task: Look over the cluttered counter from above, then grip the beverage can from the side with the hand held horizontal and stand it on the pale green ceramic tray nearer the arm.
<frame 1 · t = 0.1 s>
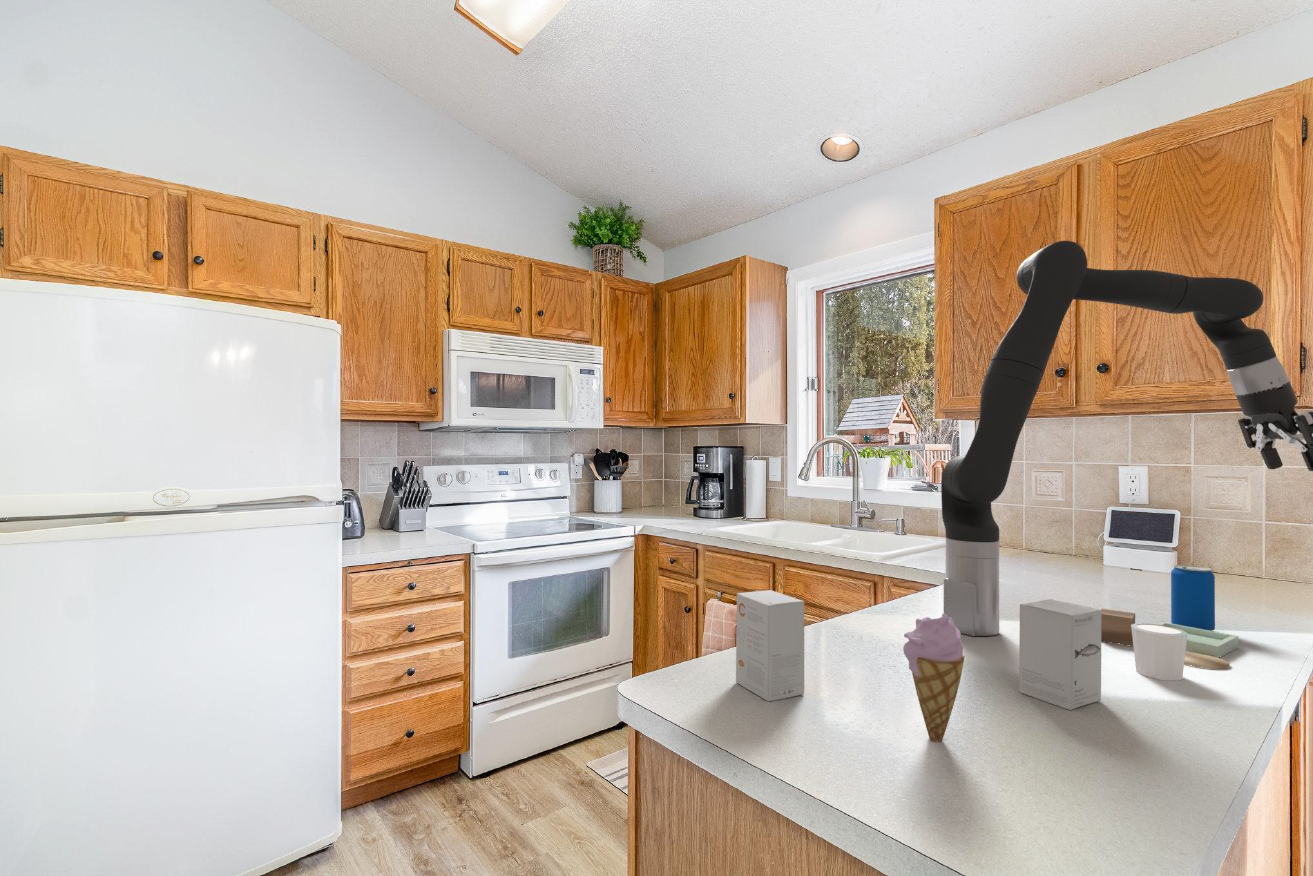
hand: (1296, 469, 116), 31 cm above the countertop, tool tilted 20°, fingers open, 8 cm apart
ice cream cone: (932, 741, 75), on the countertop
beverage can: (1192, 630, 123), on the countertop
cork coaster: (1196, 663, 104), on the countertop
supplement box: (1059, 698, 88), on the countertop
small box: (769, 690, 90), on the countertop
tray: (1188, 644, 113), on the countertop
walnut block: (1116, 641, 115), on the countertop
white cup: (1158, 675, 98), on the countertop
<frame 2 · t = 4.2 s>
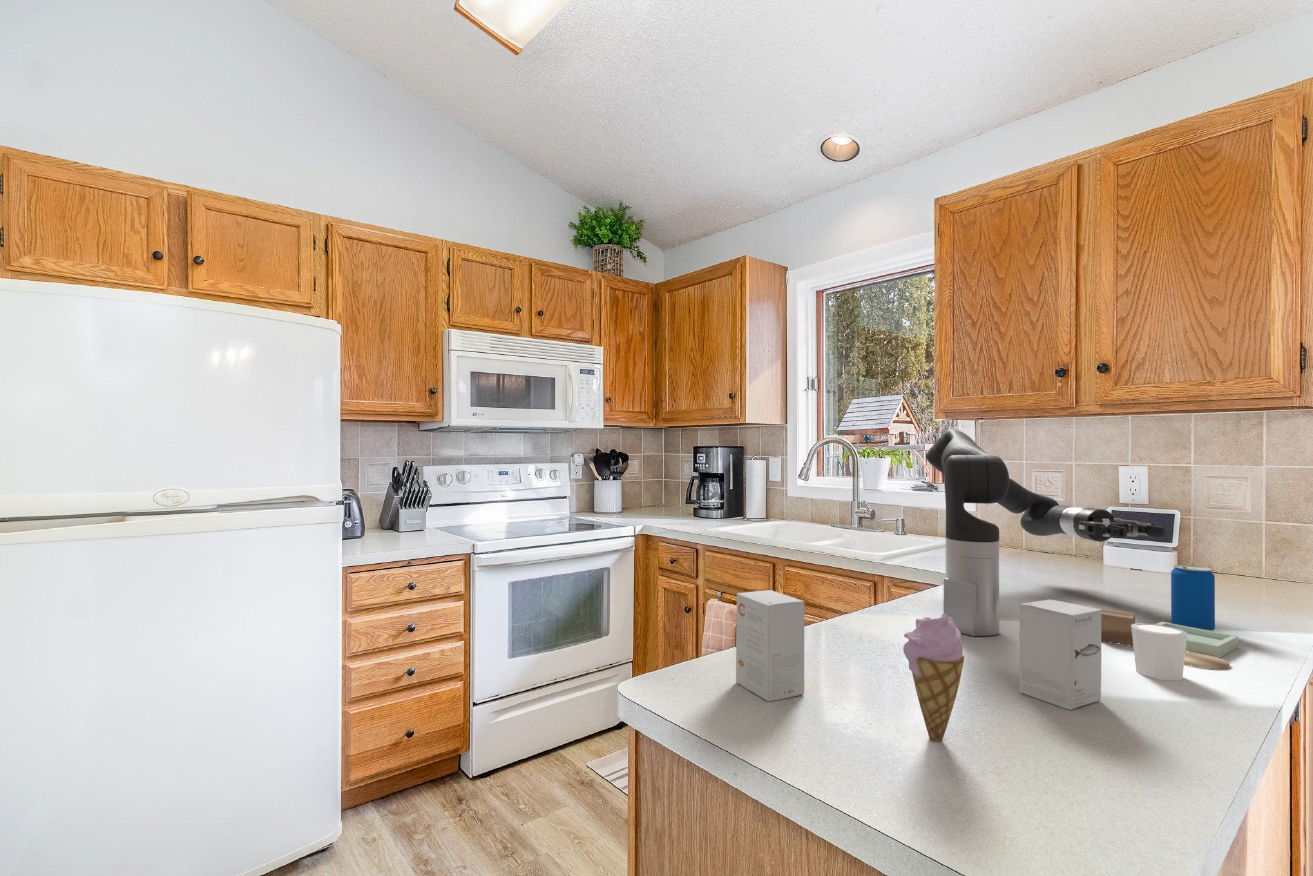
hand: (1144, 532, 134), 17 cm above the countertop, tool horizontal, fingers open, 8 cm apart
nothing on the countertop moved.
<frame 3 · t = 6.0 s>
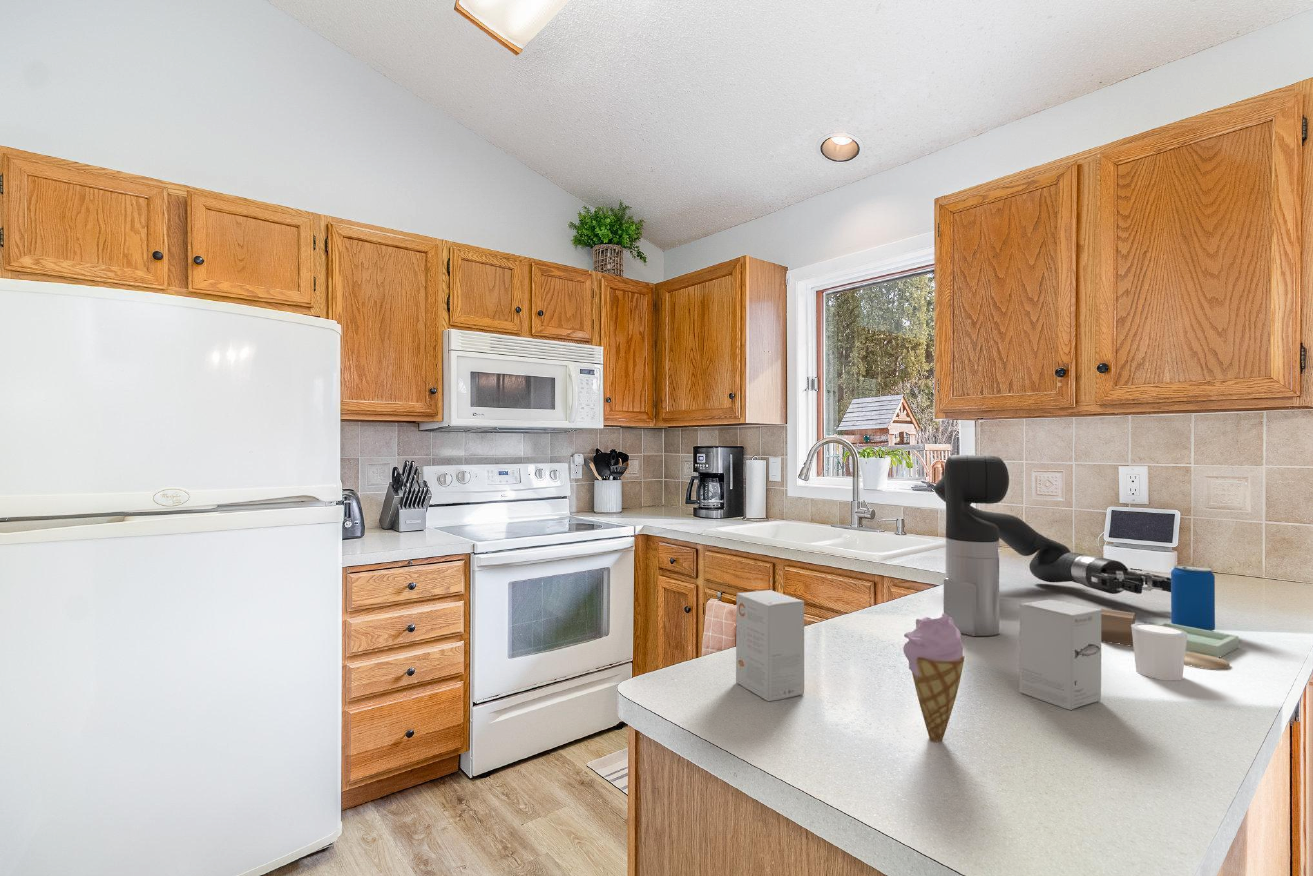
hand: (1159, 588, 131), 6 cm above the countertop, tool horizontal, fingers open, 8 cm apart
nothing on the countertop moved.
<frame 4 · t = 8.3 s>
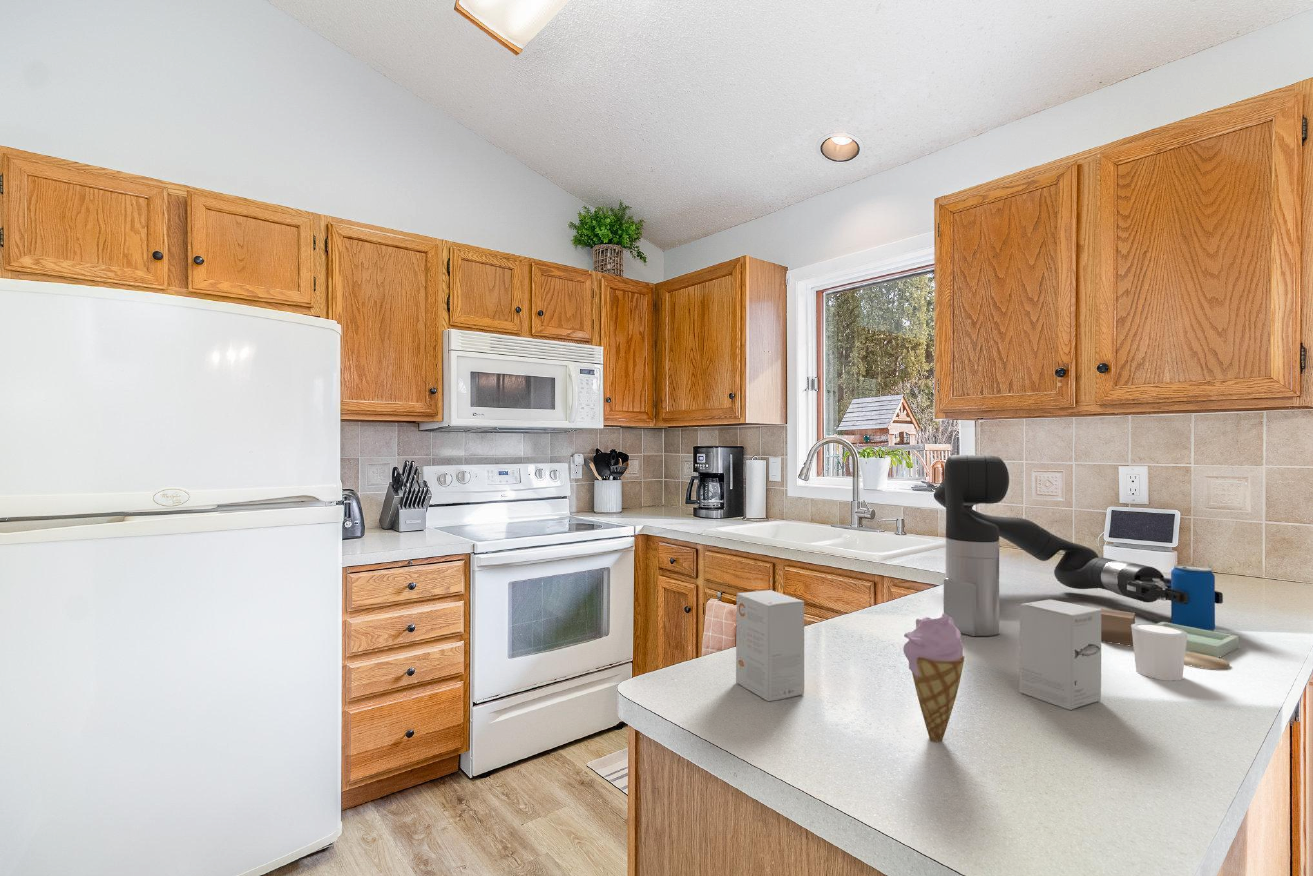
hand: (1203, 598, 121), 7 cm above the countertop, tool horizontal, fingers closed on beverage can, 6 cm apart
beverage can: (1192, 630, 123), on the countertop, touching gripper
everything else where it was.
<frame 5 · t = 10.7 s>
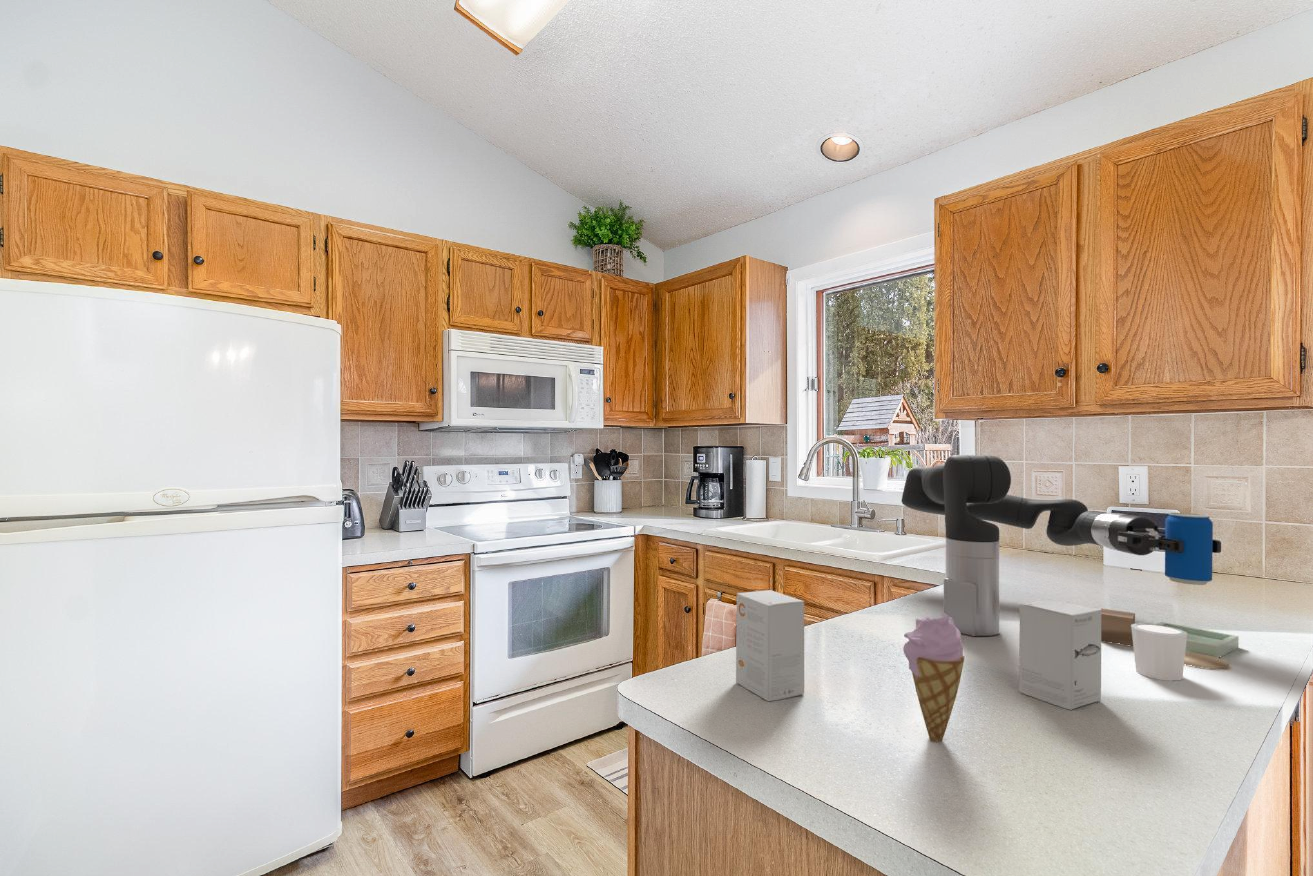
hand: (1199, 547, 111), 18 cm above the countertop, tool horizontal, fingers closed on beverage can, 6 cm apart
beverage can: (1187, 582, 113), point 11 cm above the countertop, touching gripper
everything else where it was.
when the fingers open (8 cm above the countertop, at t = 13.1 s): beverage can stays where it is, resting on tray.
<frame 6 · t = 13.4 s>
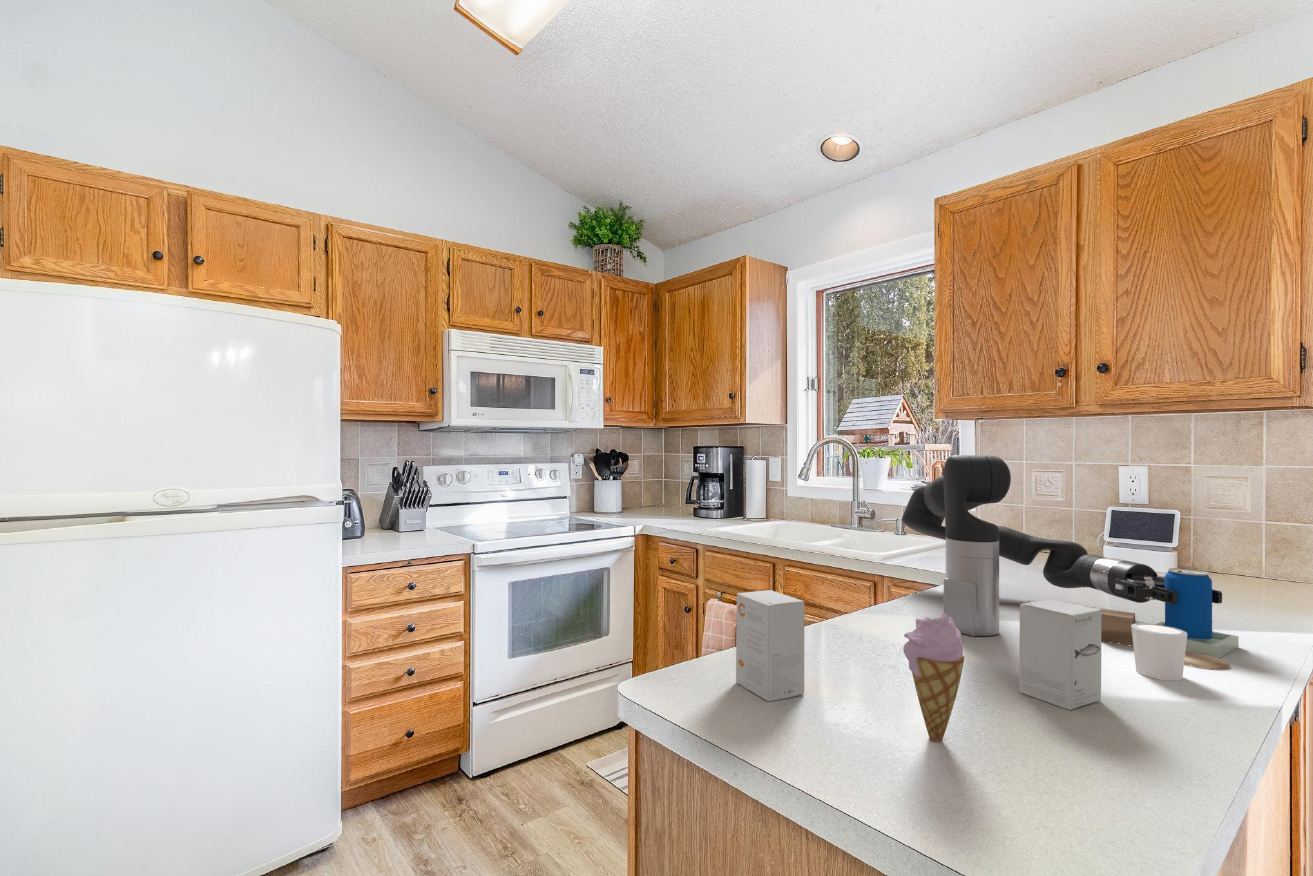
hand: (1197, 598, 111), 9 cm above the countertop, tool horizontal, fingers open, 8 cm apart
beverage can: (1188, 639, 113), point 1 cm above the countertop, touching tray
everything else where it was.
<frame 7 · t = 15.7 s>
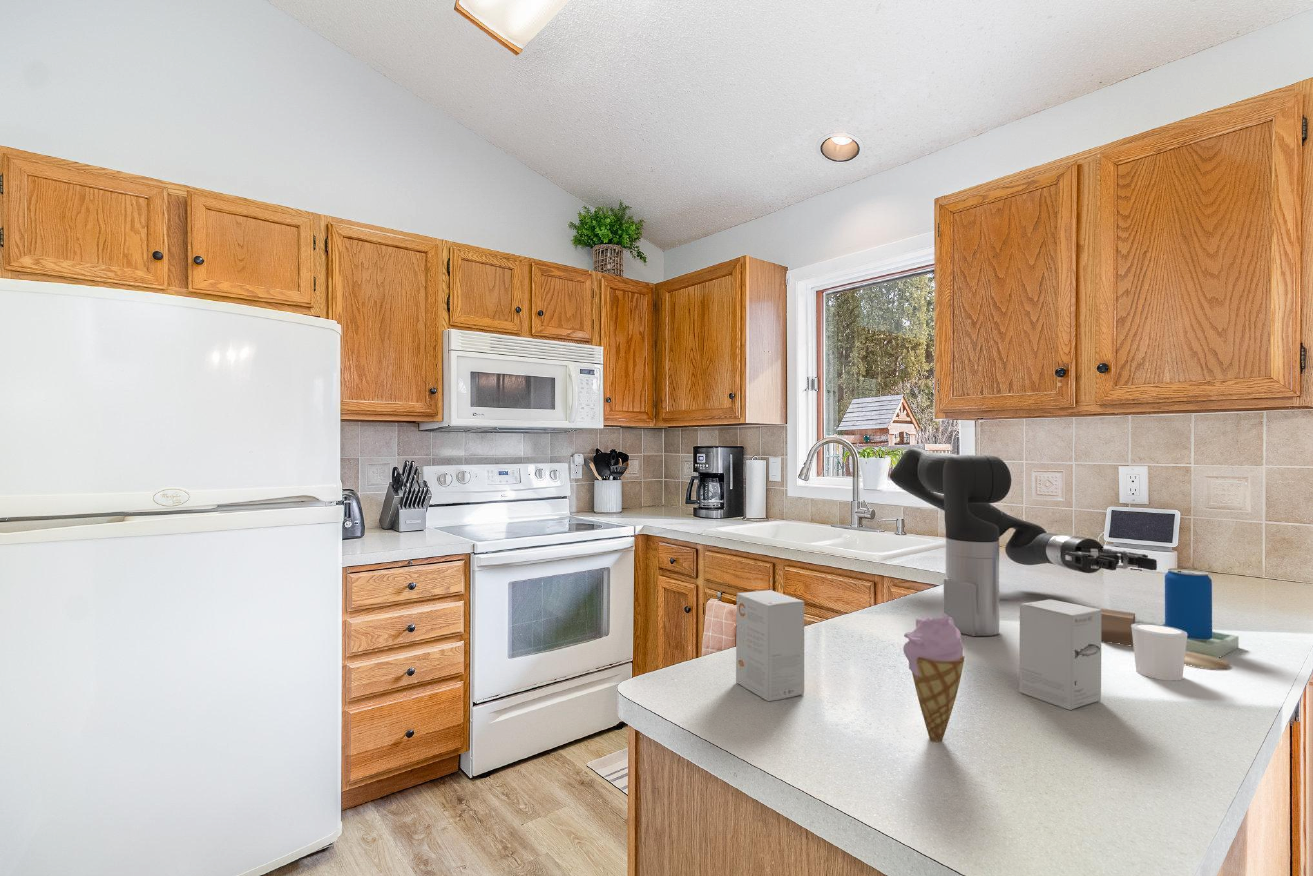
hand: (1134, 565, 125), 12 cm above the countertop, tool horizontal, fingers open, 8 cm apart
nothing on the countertop moved.
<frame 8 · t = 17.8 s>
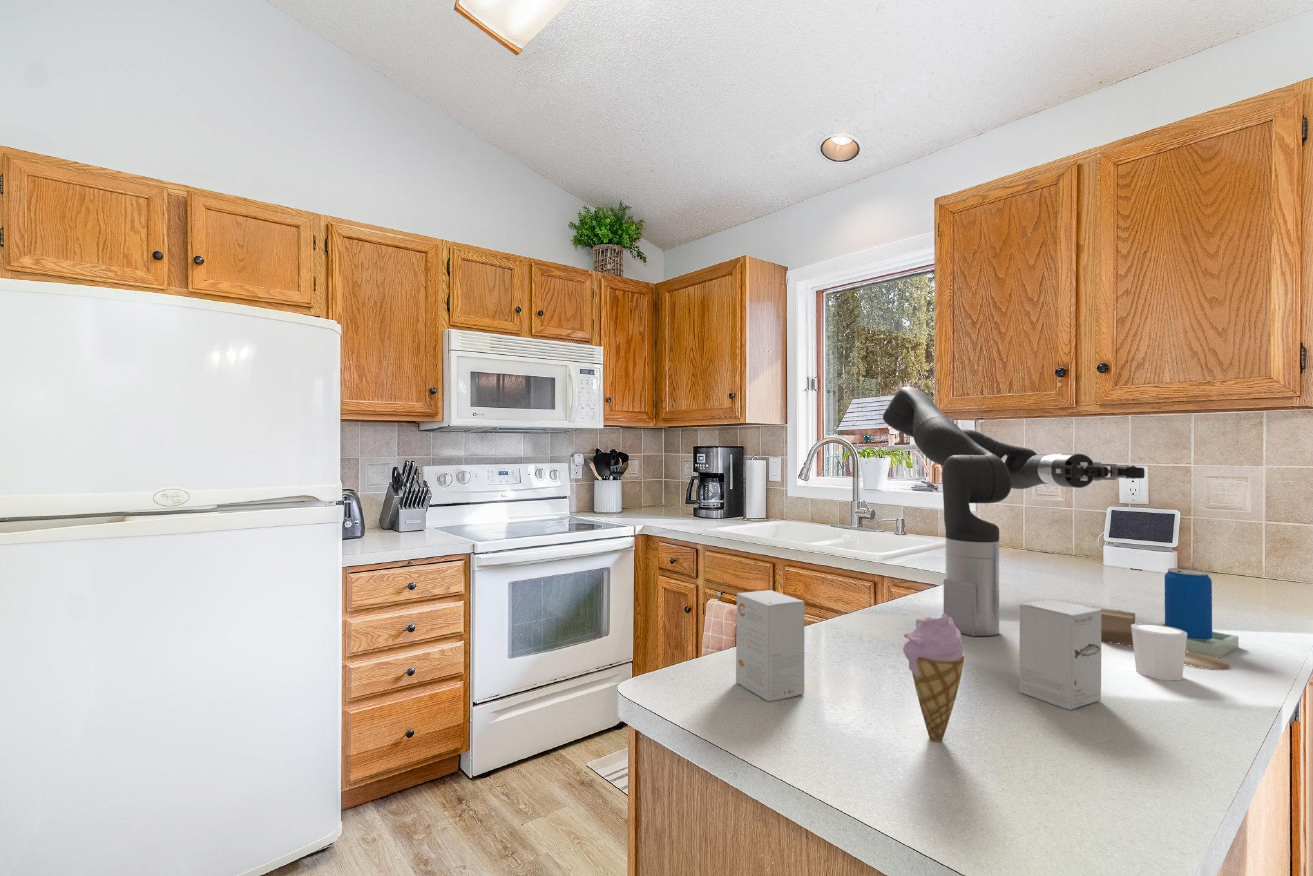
hand: (1122, 472, 128), 30 cm above the countertop, tool horizontal, fingers open, 8 cm apart
nothing on the countertop moved.
at the end: beverage can inside the target area on the tray (0.2 cm from its centre), point 0.8 cm above the tray's base; beverage can tilted 0°; the gripper is holding nothing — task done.
